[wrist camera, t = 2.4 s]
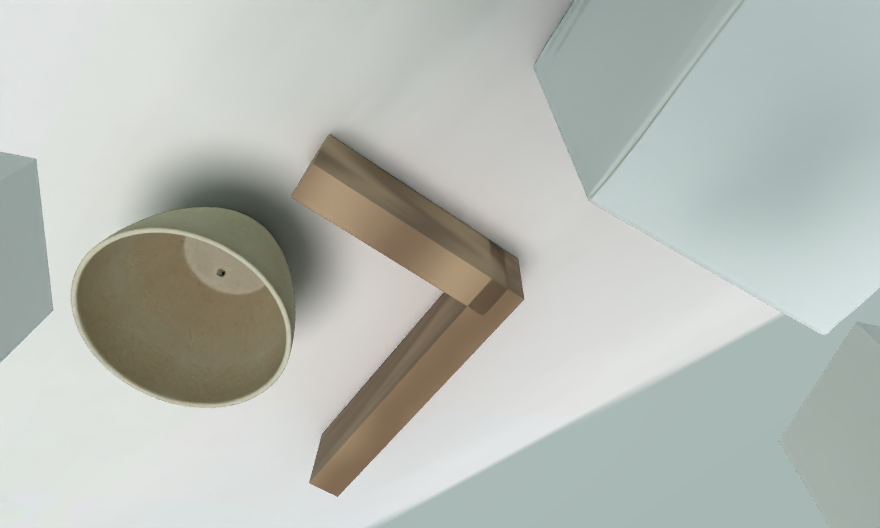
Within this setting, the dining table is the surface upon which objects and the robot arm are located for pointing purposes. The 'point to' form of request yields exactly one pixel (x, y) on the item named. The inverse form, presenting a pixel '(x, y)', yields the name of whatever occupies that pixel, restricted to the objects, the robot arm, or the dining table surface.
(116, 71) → the dining table surface
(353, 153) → the l-shaped wooden block
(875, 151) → the supplement box
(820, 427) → the robot arm
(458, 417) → the dining table surface
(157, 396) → the flower pot
